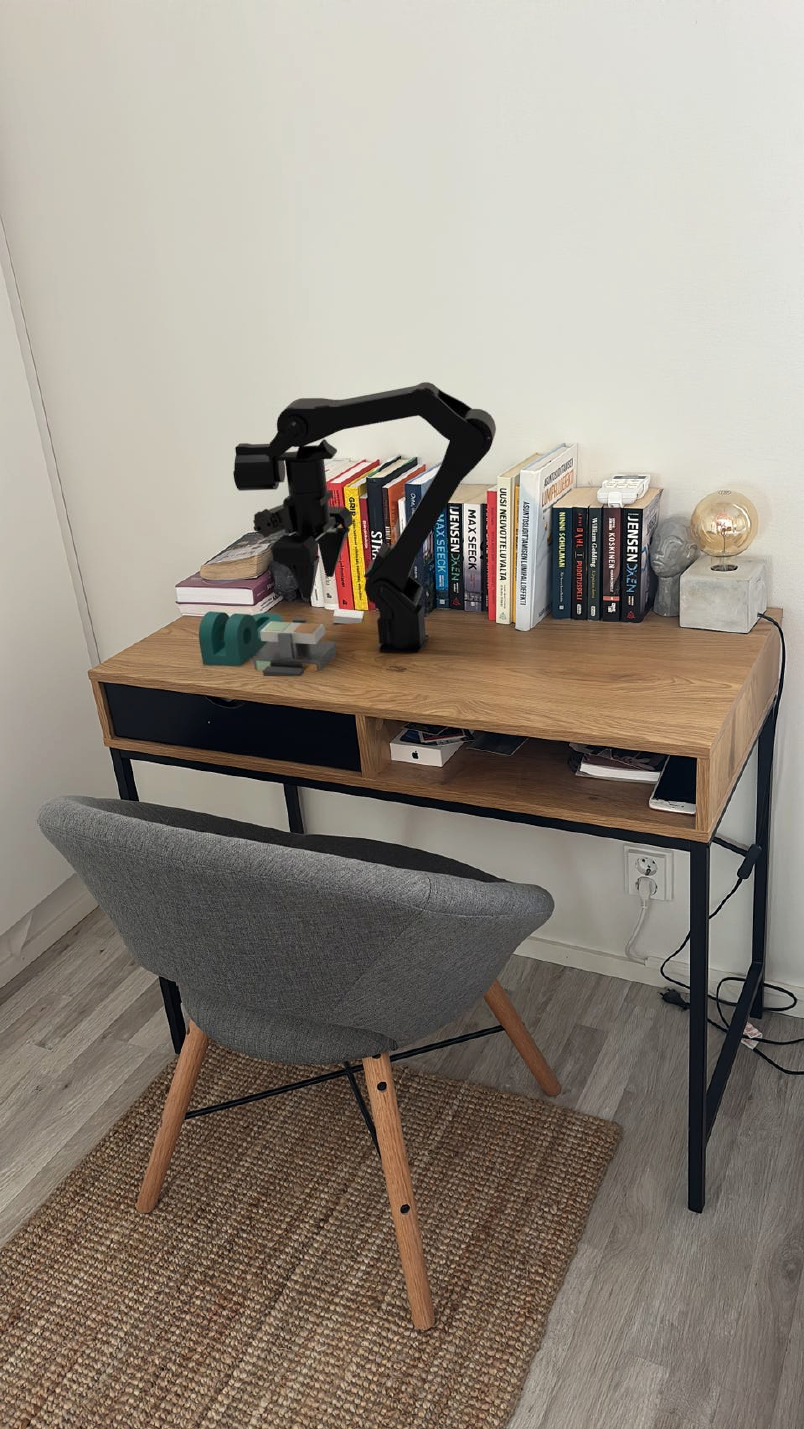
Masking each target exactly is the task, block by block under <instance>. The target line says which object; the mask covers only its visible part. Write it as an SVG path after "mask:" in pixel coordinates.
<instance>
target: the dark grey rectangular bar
mask: <svg viewBox="0 0 804 1429" xmlns="http://www.w3.org/2000/svg"><path fill="white" fill-rule="evenodd" d="M262 673H263V674H262V675H263V677H301V676H302V675H303V674H304V673H305V671H304V669H302V668H288V667H273V666H267V667H266V668H265V669H264V670H262Z"/></svg>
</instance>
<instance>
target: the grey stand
mask: <svg viewBox="0 0 804 1429" xmlns="http://www.w3.org/2000/svg"><path fill="white" fill-rule="evenodd" d="M292 623H308V621H307V618H301V617H294V618H293V619H292ZM277 636H278V642H271V641H268V642H267V643H266V644H265V645H264V646H263V647H262V648H261V649H260V650H259V651H258V652H257V653H256V654H255V655H254V656H253V657H252V658H253V664H254V665H253V666H254V670H256V671H263V670H264V669H265V668H266V667H267V666H273V667H288V668H302V669H304V672H306V671H307V672H318V671H322V670H323V669H324V668H325V667H326V666H327V665H328V664H329V662H330V661H332V659H333V658H334V657H335V656H336V655H337V654H338V649H337V642H336V641H334V642H333V641H321V640H319V641H318V642H317V644H304V643H293V641H292V634H290V633H279V634H278V635H277ZM336 653H337V654H336Z"/></svg>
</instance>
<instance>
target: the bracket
mask: <svg viewBox="0 0 804 1429" xmlns="http://www.w3.org/2000/svg"><path fill="white" fill-rule="evenodd" d="M270 621H273V622H284V621H283V616H282V615H280V614H279V613H275V612H262V613H255V614H247V613H232V614H231V615H229V614H228V613H226V612H224V611H223V612H221V611H208V612H206V613H205V614H204V615H203V616H202V619H201V620H200V624H199V627H198V628H199V629H198V641H199V646H200V647H199V648H200V654H201V655H200V656H201V660H202V666H221V667H222V666H224V667H225V666H226V667H229V666H230V667H241V666H243V664H246V663H247V661H249V660H251V659H252V658H253V656H254V655H255V654H256V653H257V652H258V651H259V650H260V649H261V648H262V647H263V646H264V645H265V644H266V643H267V642H268V641H261V634H260V631H261V630H262V629H263V628H264V627H265V626H266V625H267V624H268V623H269V622H270Z"/></svg>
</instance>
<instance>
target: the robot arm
mask: <svg viewBox="0 0 804 1429" xmlns="http://www.w3.org/2000/svg"><path fill="white" fill-rule="evenodd" d="M418 416H419V417H420V418H421V419H423V420H425V421H426V422H427V423H428V424H429V425H430V426H431V427H432V428H433V429H434V430H436V432H437V433H439V434H440V435H441V436H442V437H443V438H445V439H446V440H448V441H449V442H448V445H447V447H446V450H445V453H444V456H443V458H442V462H441V465H440V466H439V468H438V470H437V471H436V473H435V475H434V476H433V478H432V480H431V482H430V484H429V485H428V487H427V489H426V490H425V492H424V493H423V495H422V496H421V499H420V501H419V502H418V504H417V506H416V508H415V509H414V511H413V512H412V514H411V516H410V517H409V519H408V521H407V523H406V524H405V526H404V528H403V529H402V532H401V533H400V535H399V536H398V538H397V539H396V540H395V541H394V542H393V543H392V544H391V545H390V546H389V545H388V544H386V543H385V541H384V542H383V541H382V543H381V544H380V547H379V549H378V550H377V553H376V555H375V557H374V558H373V559H372V560H371V561H370V563H369V565H368V567H367V569H366V571H365V573H364V575H363V578H365V579H366V581H365V584H364V591H365V595H366V597H367V598H368V600H369V601H370V602H371V603H373V605H375V606H376V608H377V610H378V613H379V617H378V618H377V619H376V623H377V624H376V626H377V635H378V643H379V644H381V645H380V646H378V651H379V652H380V653H381V652H382V653H396V654H397V653H398V654H418V653H420V652H421V650H422V649H424V648H423V647H425V646H426V644H427V642H428V641H429V639H430V635H429V634H426V625H425V622H426V620H425V606H424V605H422V604H418V603H419V600H420V598H421V595H422V592H423V589H424V586H423V585H422V584H421V583H419V582H418V581H417V580H416V579H415V578H414V577H413V576H411V571H412V569H413V566H414V564H415V560H416V557H417V556H418V554H419V552H420V551H421V549H422V547H423V545H424V544H425V542H426V540H427V539H428V538H429V536H430V534H431V532H432V530H433V529H434V528H435V525H436V524H437V522H438V520H439V519H440V517H441V516H442V514H443V512H444V510H445V509H446V507H447V505H448V503H449V502H450V501H451V499H452V497H453V496H454V494H455V492H456V490H457V488H458V487H459V485H460V483H461V482H462V481H463V480H464V478H465V477H467V476H468V475H469V474H470V472H472V470H474V469H475V467H477V465H478V464H479V463H480V462H481V461H482V459H483V458H484V457H485V456H486V455H487V454H488V453H489V452H490V450H491V447H492V445H493V442H494V439H495V435H496V431H497V427H496V426H497V425H496V423H495V420H494V418H493V416H492V415H491V414H490V413H489V412H488V411H487V410H484V409H482V408H472V407H470V406H469V405H468V404H467V403H465V402H464V401H462V400H459V399H458V398H456V397H454V396H452V395H450V394H448V393H446V392H445V391H443V390H441V389H440V388H439V387H437V386H436V385H435V384H434V383H431V382H428V381H427V382H426V381H425V382H424V381H423V382H420V383H419V384H416V385H413V386H412V385H411V386H407V387H402V388H397V389H392V390H385V391H381V392H380V391H379V392H376V393H371V394H370V393H369V394H365V395H359V396H356V397H350V398H344V399H332V398H324V397H310V398H309V397H307V398H304V397H302V398H298V399H295V400H293V401H292V402H290V403H289V405H287V406H286V407H285V408H284V409H283V410H282V411H281V412H280V414H279V415H278V417H277V420H276V428H277V429H276V431H277V433H276V434H275V436H274V437H273V439H271V441H269V443H256V444H255V443H254V444H253V443H249V442H248V443H246V442H244V443H241V442H240V443H239V444H237V446H235V448H234V452H235V456H234V465H233V466H234V467H233V468H234V471H233V473H232V474H233V480H234V485H235V487H236V489H237V490H238V491H239V492H240V491H243V492H244V491H271V490H272V491H273V490H274V491H275V490H277V489H278V488H279V485H280V484H281V483H284V482H285V479H286V480H287V488H288V496H286V497H285V498H284V499H283V502H282V504H280V505H277V506H275V507H272V508H269V509H268V508H265V509H263V510H262V511H258V512H256V513H255V514H253V520H252V522H253V524H254V526H253V530H254V531H255V532H257V533H258V534H259V535H262V537H263V538H264V539H266V538H268V537H270V536H271V535H272V534H275V533H278V532H280V531H284V532H285V534H286V535H285V534H284V535H282V536H281V537H280V538H279V539H277V540H276V541H275V542H274V543H273V544H272V545H271V547H270V548H269V551H270V560H271V561H272V562H274V563H277V564H278V565H281V566H282V565H284V566H285V567H286V568H288V569H289V571H290V572H291V574H292V576H293V579H294V580H295V582H296V584H297V586H298V588H299V591H300V593H301V595H302V597H303V598H304V599H311V598H312V596H313V592H314V589H315V584H316V577H317V574H318V572H317V571H318V568H319V567H318V566H319V562H320V557H321V561H322V567H323V570H324V574H325V576H326V578H332V577H334V575H335V572H336V569H337V566H338V564H339V560H340V557H341V555H342V550H343V548H344V546H345V543H346V540H347V538H348V535H349V533H350V532H351V529H350V527H351V526H353V524H354V523H353V522H354V521H353V512H352V511H351V510H350V509H349V508H347V507H346V506H330V504H329V501H330V500H331V499H332V498H333V490H332V489H331V490H330V489H329V490H328V485H327V476H326V466H325V460H331V459H333V458H334V457H335V456H336V454H337V452H338V450H337V448H336V447H335V446H333V445H331V444H330V443H329V442H328V441H327V439H325V438H327V437H330V436H332V435H333V434H335V433H336V434H337V433H338V432H340V431H342V430H347V429H353V428H359V427H363V426H370V425H375V424H380V423H386V422H390V421H391V422H392V421H396V420H402V419H407V418H413V417H418ZM318 441H321V442H319V444H317V445H316V444H315V445H310V444H312V443H315V442H318ZM291 448H297V450H295V451H288V450H290V449H291ZM294 533H296V534H295V535H293V534H294ZM287 534H289V535H287ZM290 534H291V535H290ZM318 553H320V555H318Z"/></svg>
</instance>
